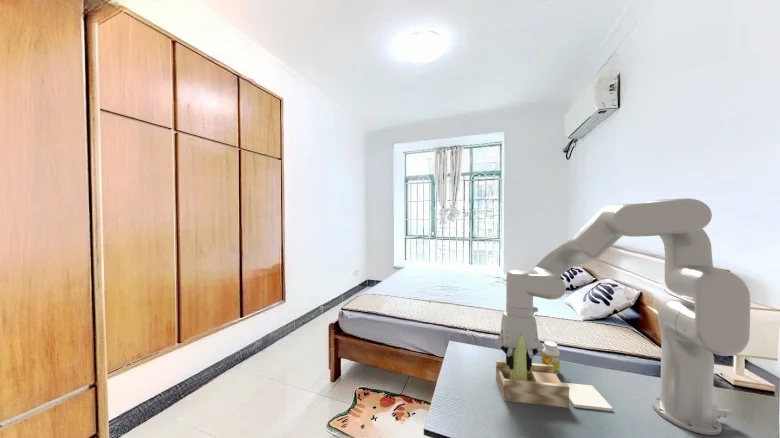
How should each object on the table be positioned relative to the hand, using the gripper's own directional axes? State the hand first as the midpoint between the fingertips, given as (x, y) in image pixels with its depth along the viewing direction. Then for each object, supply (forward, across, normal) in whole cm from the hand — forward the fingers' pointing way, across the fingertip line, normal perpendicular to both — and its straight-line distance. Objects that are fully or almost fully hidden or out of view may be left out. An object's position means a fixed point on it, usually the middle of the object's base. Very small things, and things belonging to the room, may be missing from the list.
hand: (518, 367), depth 83 cm
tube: (+8, 0, 0) cm, 8 cm away
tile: (+7, -18, 0) cm, 20 cm away
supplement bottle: (+8, -14, -13) cm, 21 cm away
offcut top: (+5, -8, 0) cm, 10 cm away
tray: (+7, -3, 0) cm, 8 cm away
